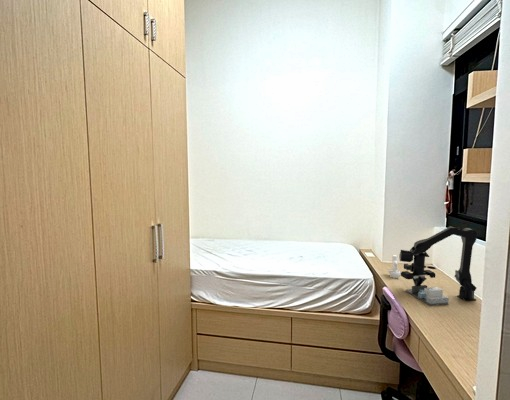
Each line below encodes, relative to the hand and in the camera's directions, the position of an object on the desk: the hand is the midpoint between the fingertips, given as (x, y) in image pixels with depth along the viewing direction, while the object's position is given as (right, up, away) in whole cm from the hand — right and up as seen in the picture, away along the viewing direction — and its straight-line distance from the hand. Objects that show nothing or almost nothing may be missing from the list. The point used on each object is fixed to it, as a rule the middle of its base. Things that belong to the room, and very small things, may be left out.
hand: (416, 288), depth 170 cm
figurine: (-1, 0, +26) cm, 26 cm away
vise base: (+1, -3, -7) cm, 8 cm away
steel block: (+2, -3, -12) cm, 13 cm away
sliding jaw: (+1, -2, -6) cm, 6 cm away
